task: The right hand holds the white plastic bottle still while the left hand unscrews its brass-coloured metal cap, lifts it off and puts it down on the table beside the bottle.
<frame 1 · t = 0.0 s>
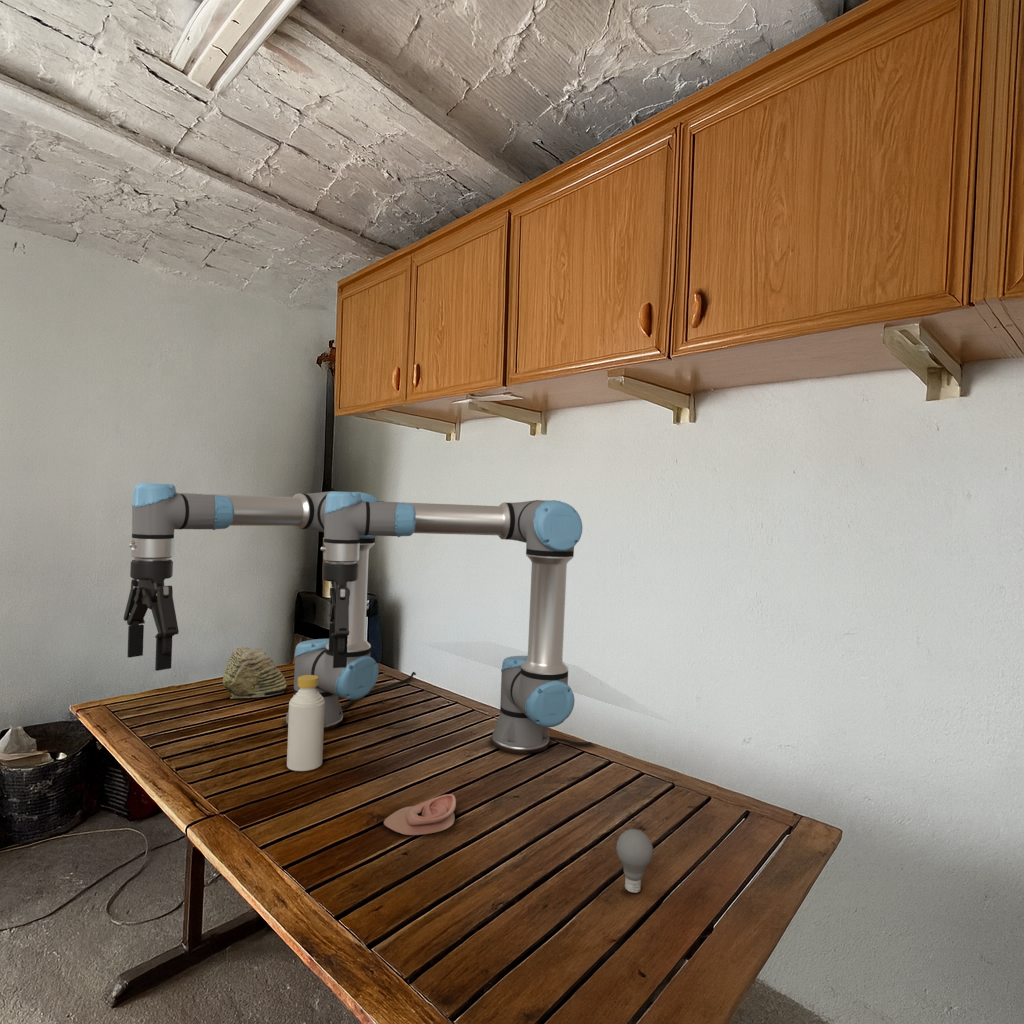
left hand: (148, 662, 129), 28 cm above the table, tool pointing down, fingers open, 13 cm apart
right hand: (337, 659, 138), 28 cm above the table, tool pointing down, fingers open, 13 cm apart
light bulb: (632, 891, 106), on the table
bottle: (304, 763, 150), on the table
anatomical model: (420, 822, 125), on the table
fossil: (254, 694, 198), on the table
cap: (307, 678, 149), point 20 cm above the table, screwed on, not yet turned
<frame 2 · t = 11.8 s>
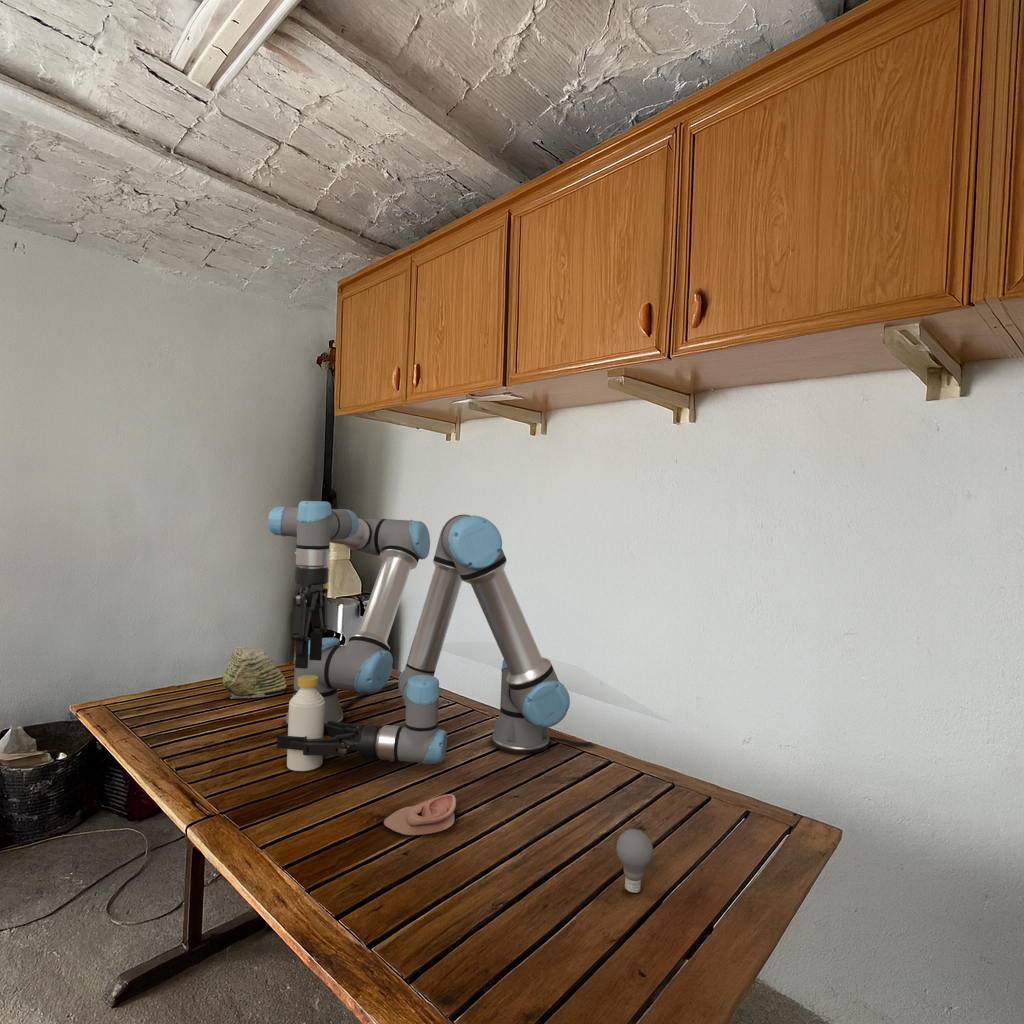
left hand: (308, 663, 149), 24 cm above the table, tool pointing down, fingers open, 7 cm apart
right hand: (286, 734, 150), 7 cm above the table, tool horizontal, fingers closed on bottle, 8 cm apart
bottle: (304, 763, 150), on the table, touching right hand
everything else where it was.
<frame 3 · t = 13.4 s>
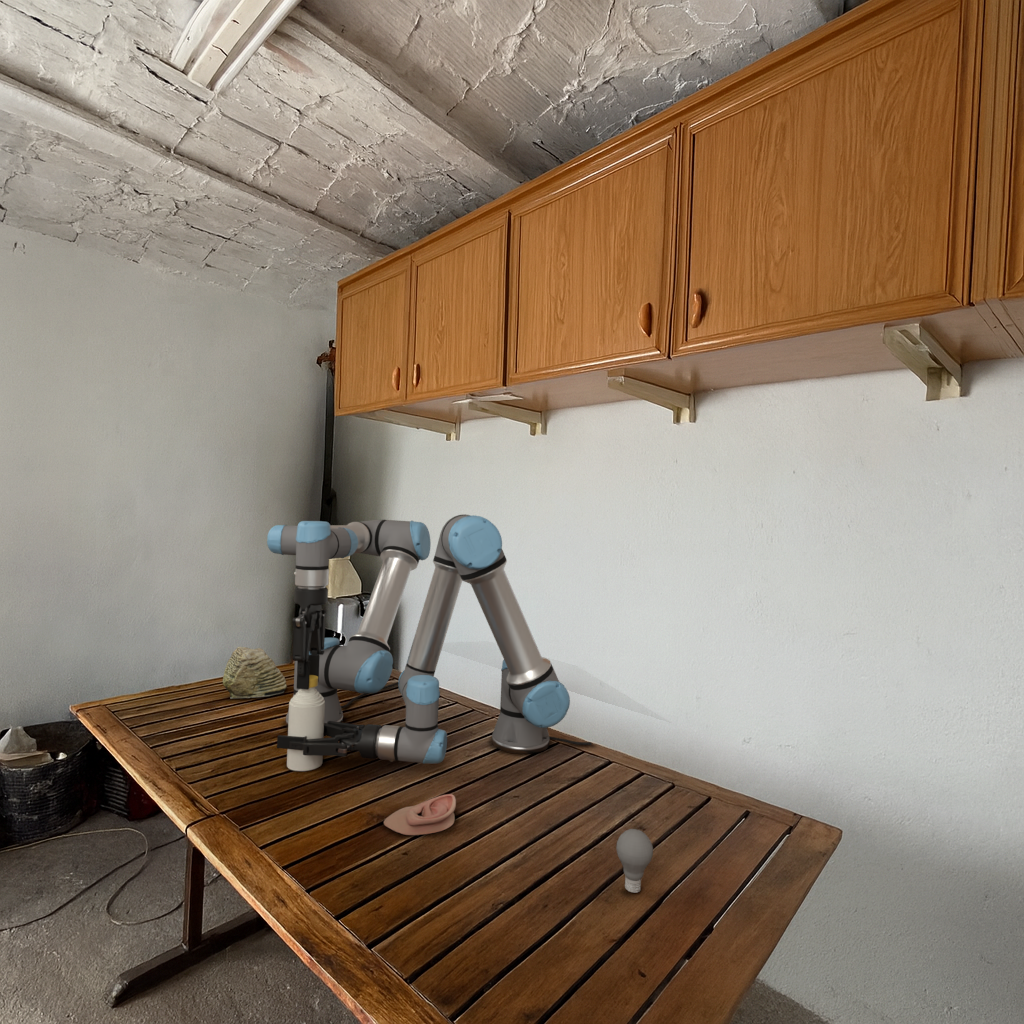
left hand: (307, 685, 149), 19 cm above the table, tool pointing down, fingers closed on cap, 4 cm apart
right hand: (286, 734, 150), 7 cm above the table, tool horizontal, fingers closed on bottle, 8 cm apart
bottle: (304, 763, 150), on the table, touching right hand
cap: (308, 678, 149), point 20 cm above the table, screwed on, not yet turned, touching left hand
everything else where it was.
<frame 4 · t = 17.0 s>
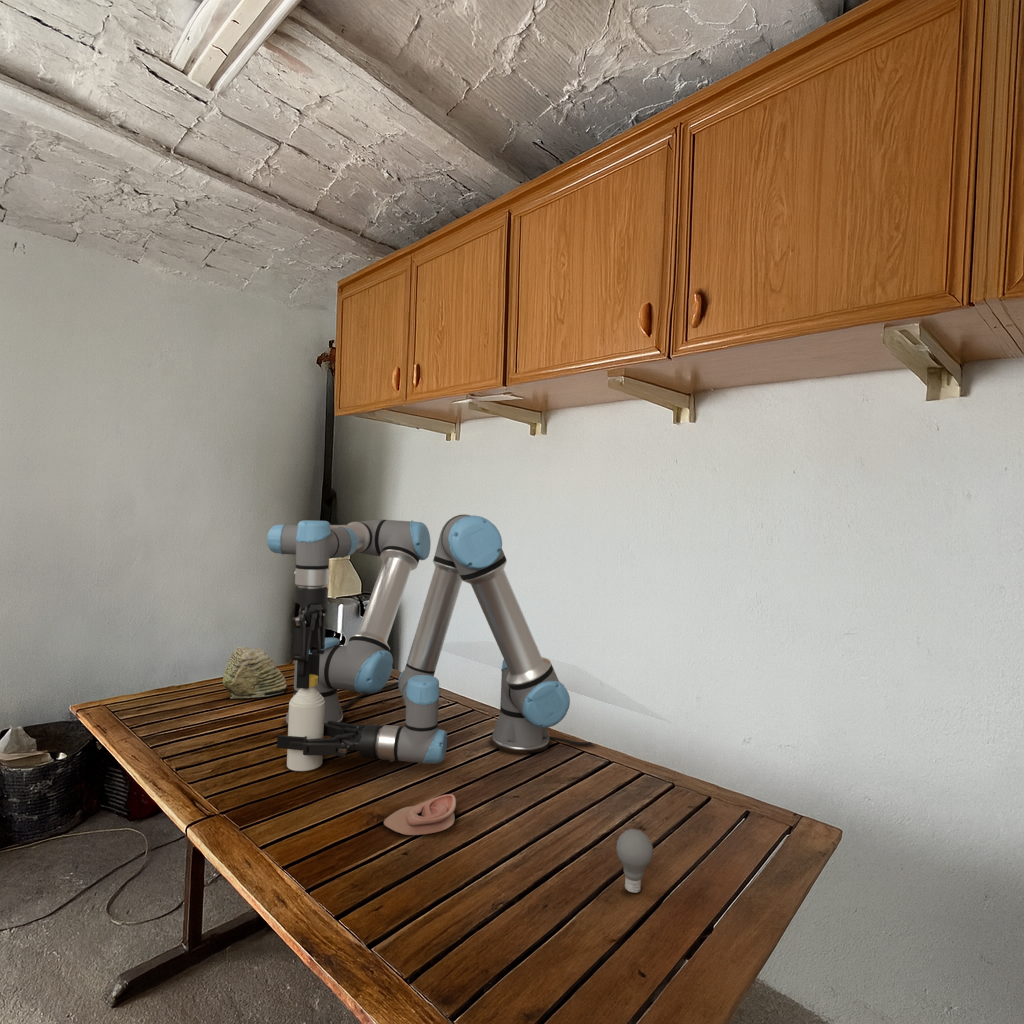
left hand: (307, 684, 149), 19 cm above the table, tool pointing down, fingers closed on cap, 4 cm apart
right hand: (286, 734, 150), 7 cm above the table, tool horizontal, fingers closed on bottle, 8 cm apart
bottle: (304, 763, 150), on the table, touching right hand
cap: (308, 678, 149), point 20 cm above the table, turned 122° so far, risen 0.1 cm, still on its thread, touching left hand
everything else where it was.
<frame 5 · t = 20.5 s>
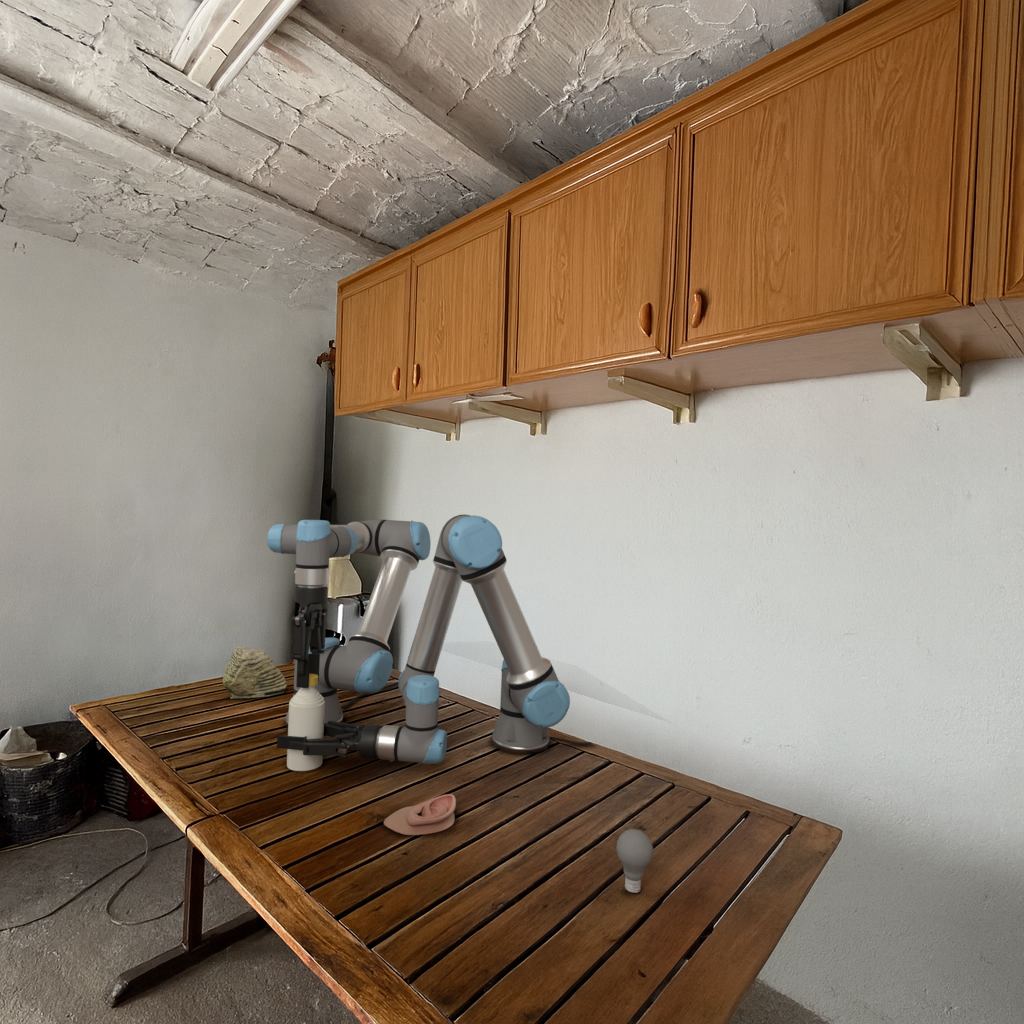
left hand: (307, 683, 149), 19 cm above the table, tool pointing down, fingers closed on cap, 4 cm apart
right hand: (286, 734, 150), 7 cm above the table, tool horizontal, fingers closed on bottle, 8 cm apart
bottle: (304, 763, 150), on the table, touching right hand
cap: (308, 677, 149), point 21 cm above the table, turned 244° so far, risen 0.3 cm, still on its thread, touching left hand
everything else where it was.
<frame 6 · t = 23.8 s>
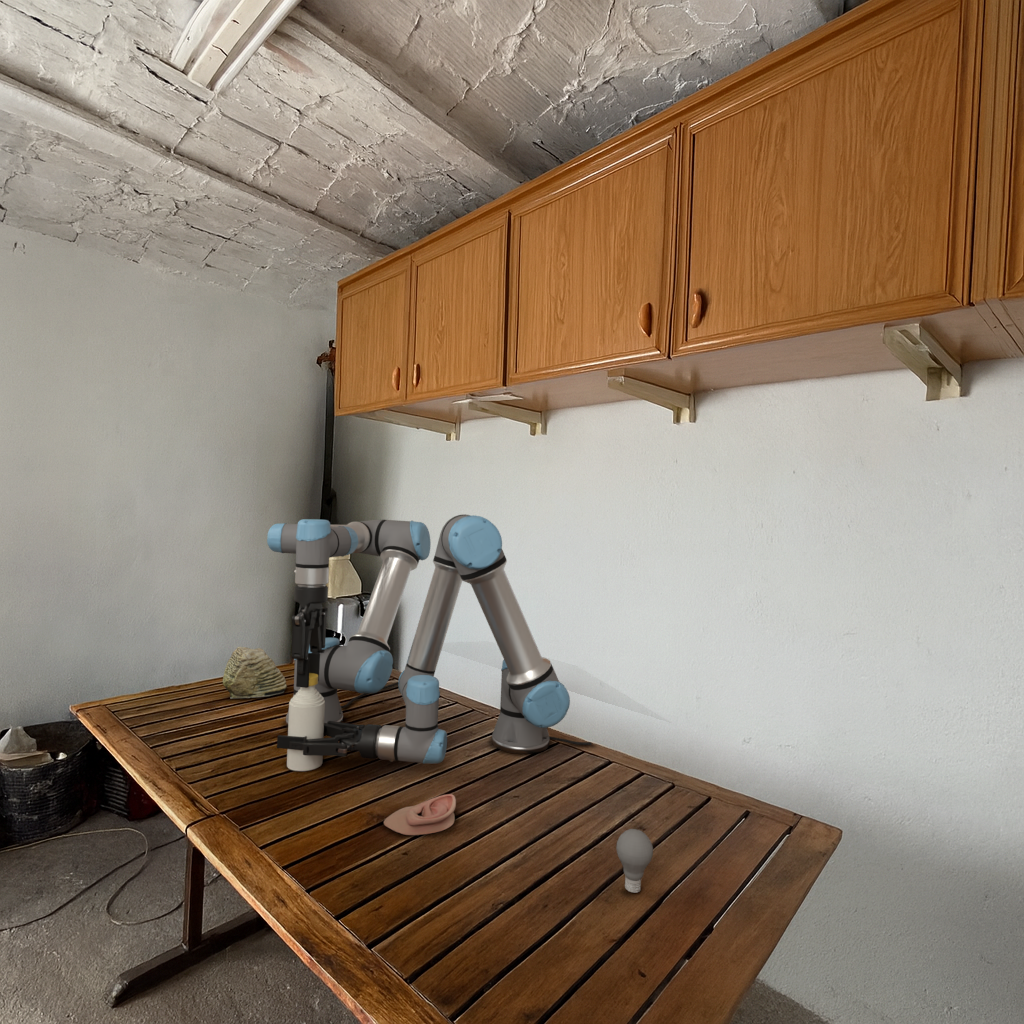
left hand: (307, 683, 149), 19 cm above the table, tool pointing down, fingers closed on cap, 4 cm apart
right hand: (286, 734, 150), 7 cm above the table, tool horizontal, fingers closed on bottle, 8 cm apart
bottle: (304, 763, 150), on the table, touching right hand
cap: (308, 677, 149), point 21 cm above the table, turned 366° so far, risen 0.4 cm, still on its thread, touching left hand
everything else where it was.
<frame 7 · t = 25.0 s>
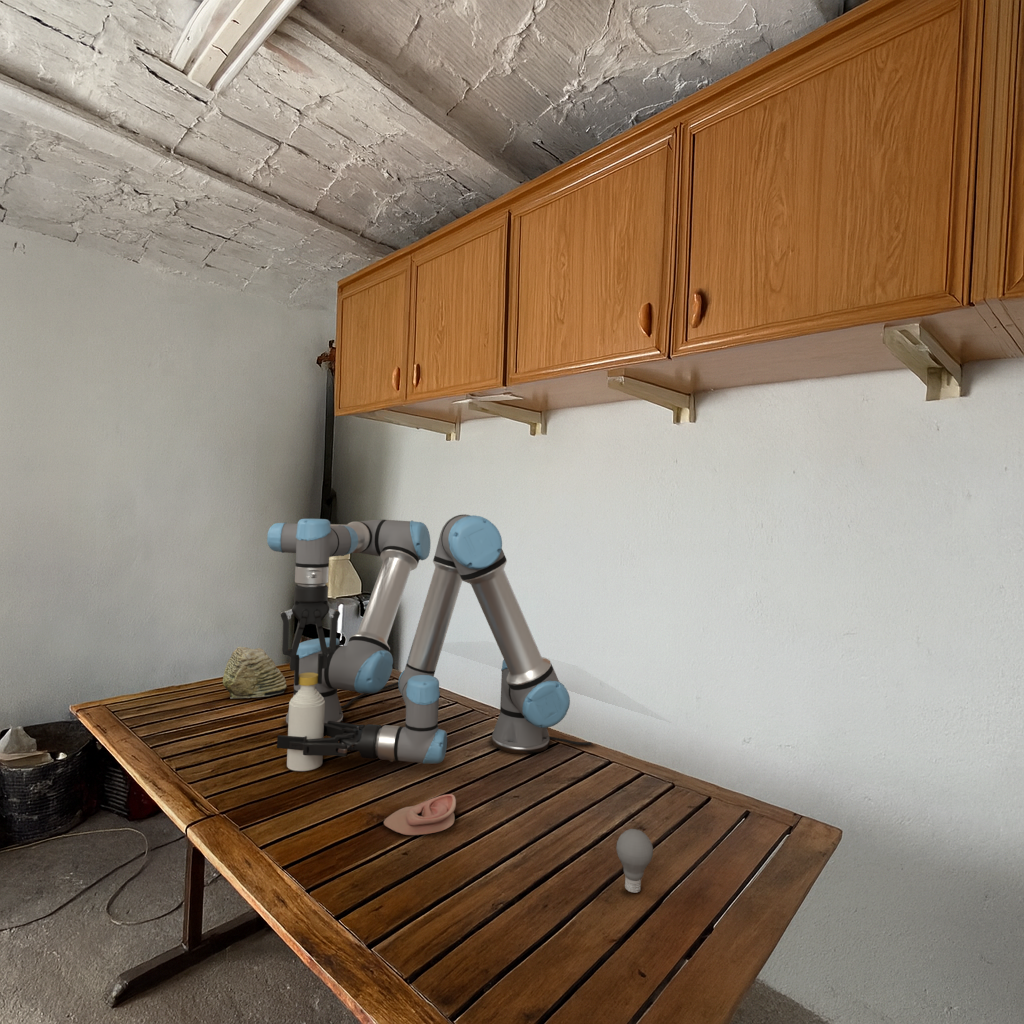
left hand: (307, 682, 149), 19 cm above the table, tool pointing down, fingers closed on cap, 4 cm apart
right hand: (286, 734, 150), 7 cm above the table, tool horizontal, fingers closed on bottle, 8 cm apart
bottle: (304, 763, 150), on the table, touching right hand
cap: (308, 676, 149), point 21 cm above the table, off its thread, touching left hand
everything else where it was.
when the left hand's fingers open (1 cm above the table, at t = 30.3 s): cap drops 1 cm, point 2 cm above the table.
when the right hand's fingers open (7 cm above the table, at t = 31.5 s): bottle stays where it is, on the table.
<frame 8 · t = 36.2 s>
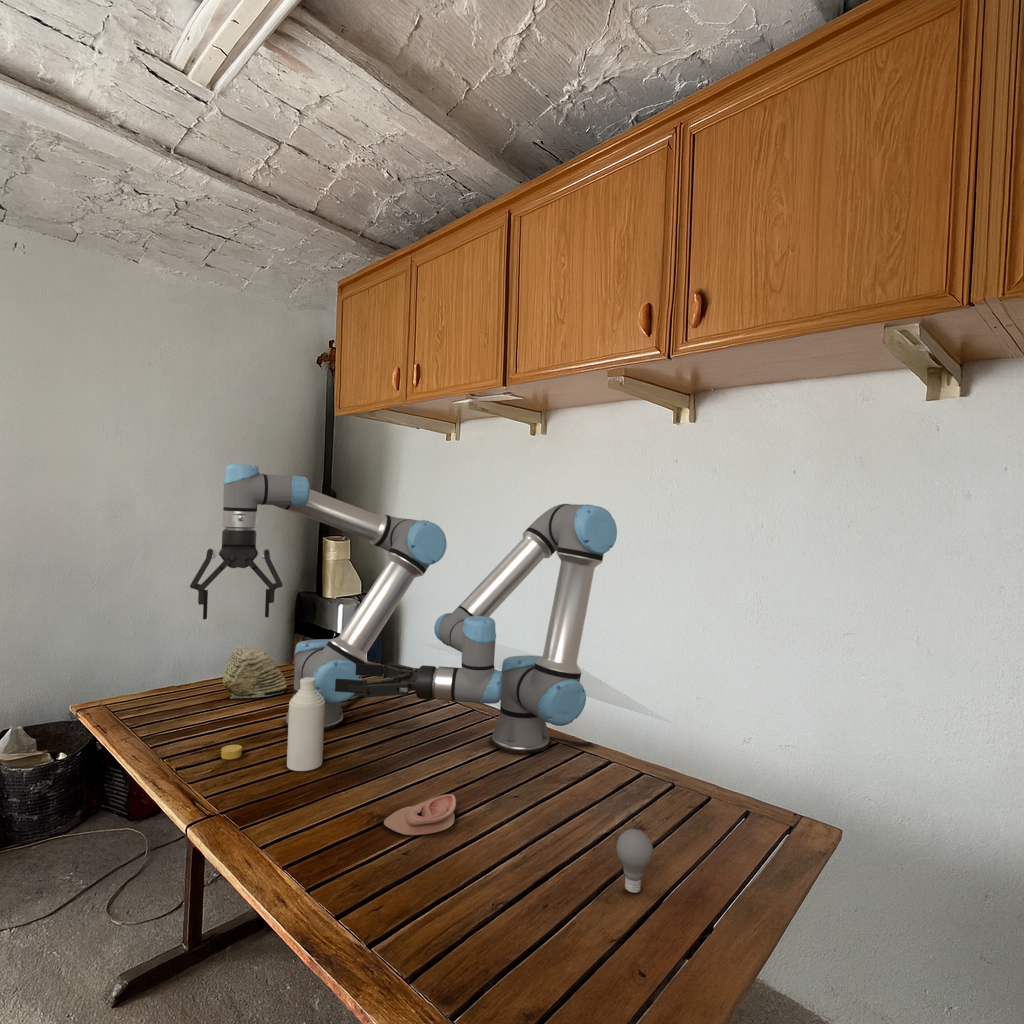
left hand: (236, 617, 152), 33 cm above the table, tool pointing down, fingers open, 13 cm apart
right hand: (346, 676, 148), 21 cm above the table, tool horizontal, fingers open, 13 cm apart
bottle: (304, 763, 150), on the table
cap: (231, 749, 152), point 2 cm above the table, off its thread
everything else where it was.
at the end: cap came off its thread; cap point 1.5 cm above the table; the left hand is holding nothing; the right hand is holding nothing; bottle tilted 0°; bottle moved 0.0 cm from its start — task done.
